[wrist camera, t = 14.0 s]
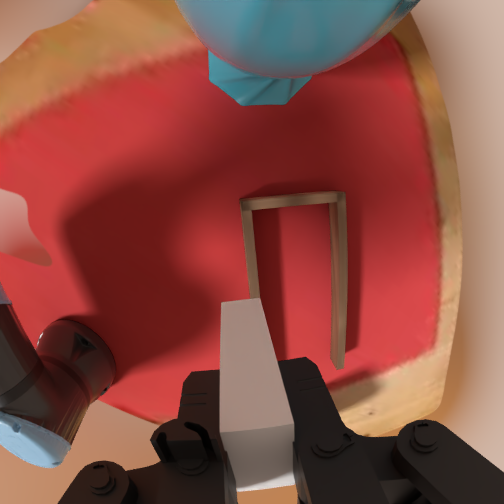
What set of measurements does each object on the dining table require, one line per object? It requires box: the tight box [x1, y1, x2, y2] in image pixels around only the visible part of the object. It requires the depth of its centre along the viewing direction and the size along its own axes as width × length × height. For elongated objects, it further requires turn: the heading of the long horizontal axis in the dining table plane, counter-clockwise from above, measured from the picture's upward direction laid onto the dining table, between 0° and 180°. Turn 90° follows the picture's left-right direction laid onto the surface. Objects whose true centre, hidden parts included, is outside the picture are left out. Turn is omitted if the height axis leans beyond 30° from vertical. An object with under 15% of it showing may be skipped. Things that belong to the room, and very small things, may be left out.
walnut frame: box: [239, 191, 348, 370], centre depth 42 cm, size 13×27×4 cm, turn 6°
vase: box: [175, 0, 420, 106], centre depth 20 cm, size 17×17×30 cm
